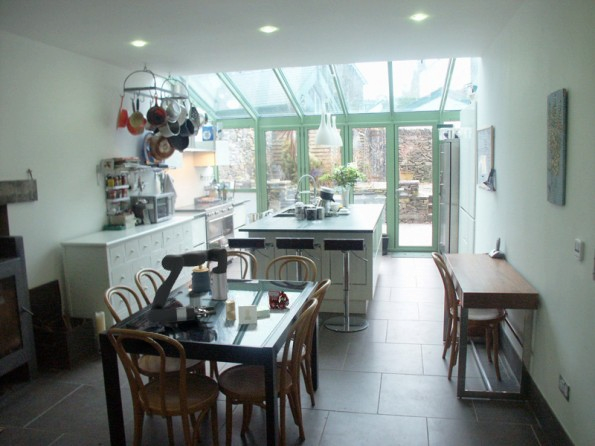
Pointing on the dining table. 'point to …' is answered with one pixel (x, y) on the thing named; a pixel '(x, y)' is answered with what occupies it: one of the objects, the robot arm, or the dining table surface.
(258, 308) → the base brick
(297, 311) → the dining table surface
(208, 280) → the canister
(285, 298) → the toy fire truck
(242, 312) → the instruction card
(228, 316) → the column
